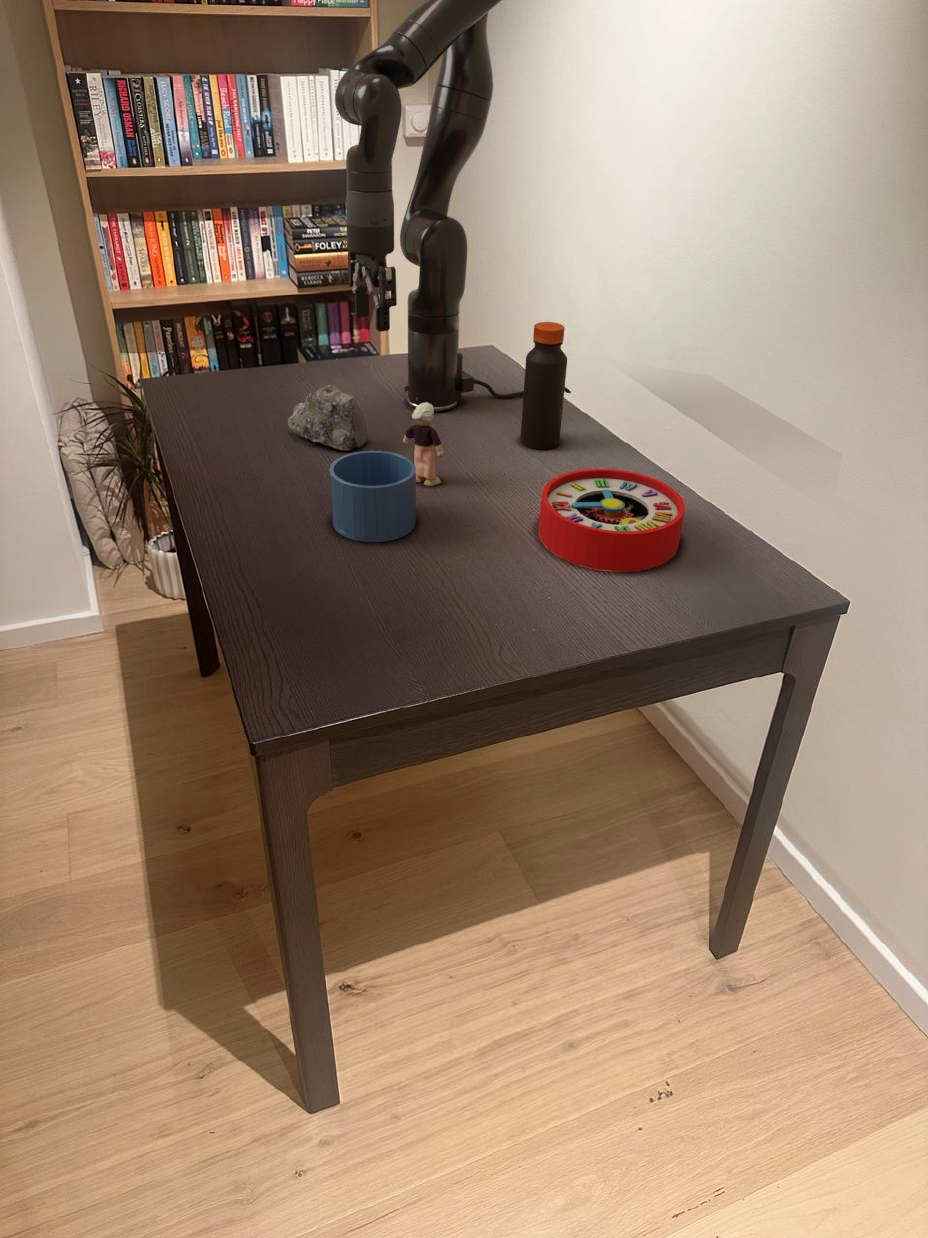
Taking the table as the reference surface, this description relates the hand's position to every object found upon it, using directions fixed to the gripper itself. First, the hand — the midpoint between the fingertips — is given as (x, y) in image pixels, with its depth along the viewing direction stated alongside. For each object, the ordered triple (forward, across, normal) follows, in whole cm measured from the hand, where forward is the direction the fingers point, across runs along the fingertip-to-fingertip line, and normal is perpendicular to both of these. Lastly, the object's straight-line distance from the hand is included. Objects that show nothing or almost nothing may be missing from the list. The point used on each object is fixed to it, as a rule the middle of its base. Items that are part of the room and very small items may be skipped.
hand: (372, 323), depth 152 cm
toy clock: (+18, -52, -14) cm, 56 cm away
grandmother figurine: (+18, -24, +2) cm, 30 cm away
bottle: (+18, -20, -23) cm, 35 cm away
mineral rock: (+18, -4, +10) cm, 21 cm away
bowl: (+18, -34, +15) cm, 41 cm away
